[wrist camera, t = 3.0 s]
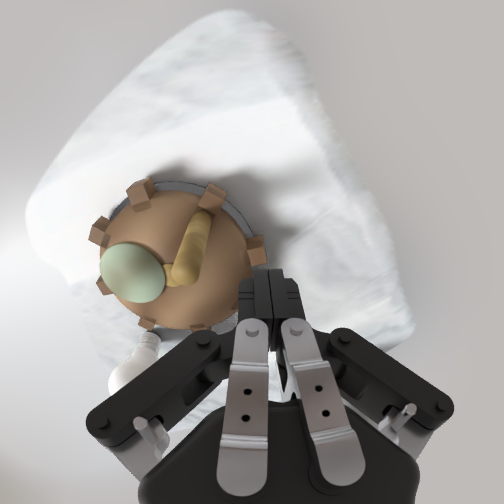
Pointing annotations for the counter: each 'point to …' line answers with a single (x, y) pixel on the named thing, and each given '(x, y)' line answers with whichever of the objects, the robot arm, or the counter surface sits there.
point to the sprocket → (175, 257)
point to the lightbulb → (135, 362)
